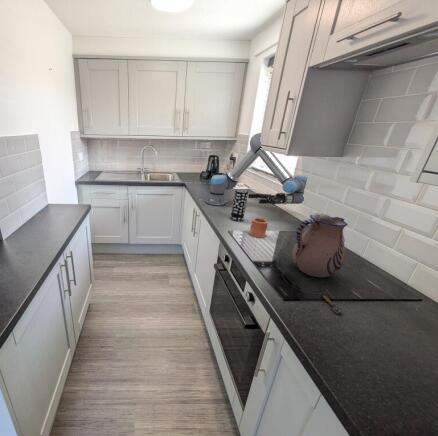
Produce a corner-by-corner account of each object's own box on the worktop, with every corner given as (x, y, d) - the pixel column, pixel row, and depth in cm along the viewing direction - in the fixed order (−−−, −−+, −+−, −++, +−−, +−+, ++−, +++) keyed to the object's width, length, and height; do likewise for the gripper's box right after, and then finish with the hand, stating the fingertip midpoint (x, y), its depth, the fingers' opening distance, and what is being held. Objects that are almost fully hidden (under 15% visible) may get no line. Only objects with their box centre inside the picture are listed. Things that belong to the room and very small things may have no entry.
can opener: (321, 297, 84) (322, 294, 84) (328, 297, 84) (329, 295, 84) (335, 315, 76) (337, 312, 76) (343, 316, 76) (344, 313, 75)
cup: (250, 230, 142) (253, 217, 138) (265, 234, 137) (268, 220, 134) (248, 235, 135) (251, 221, 132) (263, 239, 131) (267, 224, 128)
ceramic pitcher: (347, 279, 95) (369, 224, 86) (309, 288, 89) (329, 229, 80) (307, 258, 111) (323, 209, 102) (273, 265, 105) (286, 213, 96)
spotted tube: (244, 221, 156) (250, 193, 149) (232, 221, 156) (237, 192, 149) (240, 217, 164) (245, 190, 157) (228, 217, 164) (233, 189, 157)
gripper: (294, 209, 148) (263, 209, 146) (270, 198, 171) (243, 199, 169) (297, 197, 145) (266, 198, 143) (272, 189, 169) (245, 189, 166)
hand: (253, 198), depth 156 cm, fingers open, 13 cm apart
